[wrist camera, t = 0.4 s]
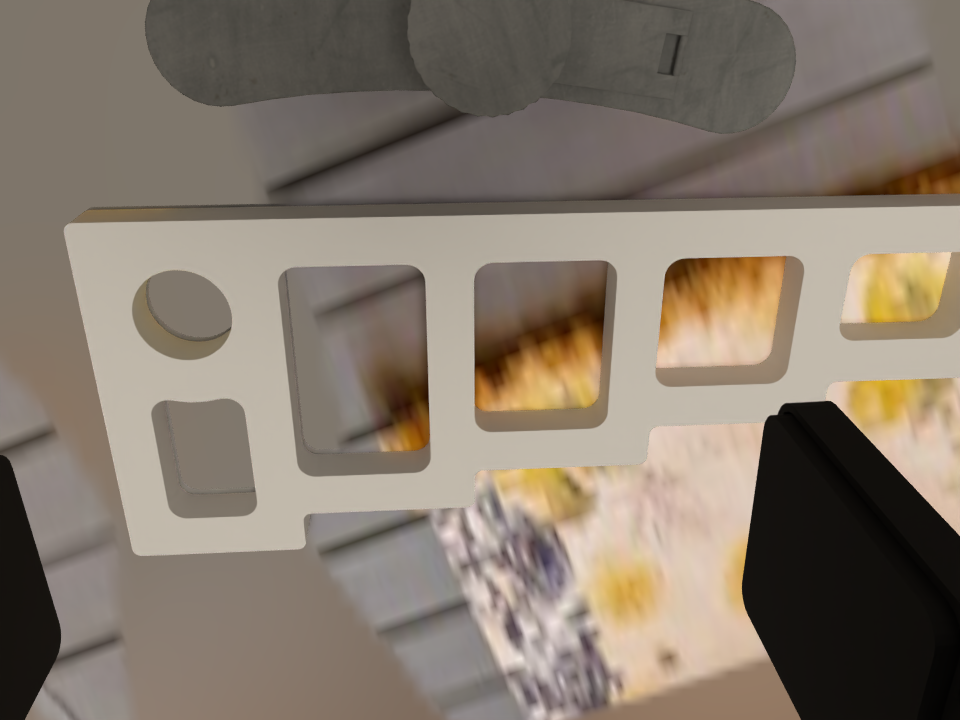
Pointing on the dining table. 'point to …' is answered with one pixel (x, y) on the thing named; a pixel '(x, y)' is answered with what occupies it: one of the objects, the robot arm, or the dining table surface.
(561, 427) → the holder
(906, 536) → the robot arm
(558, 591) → the dining table surface
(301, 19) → the hip flask
